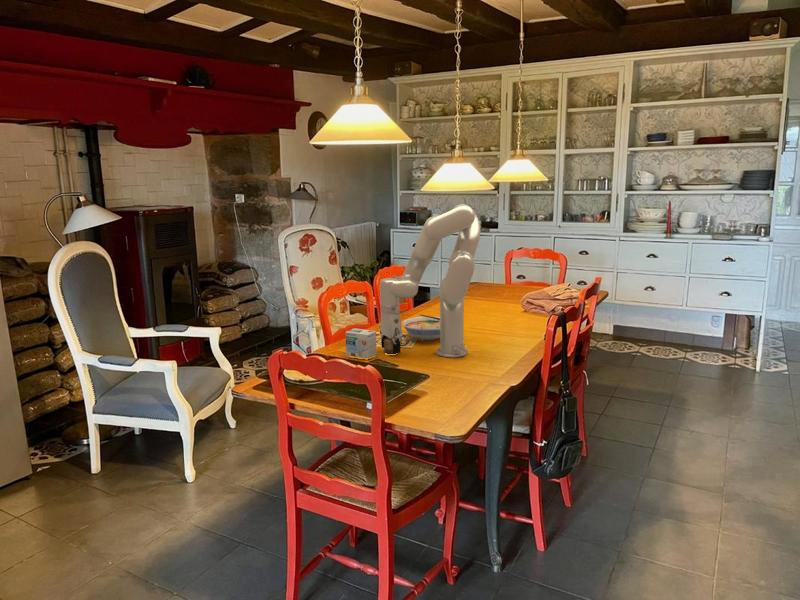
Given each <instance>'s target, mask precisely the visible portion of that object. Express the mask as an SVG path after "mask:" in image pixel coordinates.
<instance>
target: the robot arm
mask: <svg viewBox="0 0 800 600" xmlns="http://www.w3.org/2000/svg"><path fill="white" fill-rule="evenodd" d="M481 229H482V228H481V222H480V221H479V218H478V215H477V214H476V213H475V211H474V209H473V208H472V207H471V206H470V205H468V204H465V203H459V204H456V205H455V206H454V207H453V209H451V210H449V211H447V212H444V213H443V214H440V215H435V216H430V217H429V218H427V219H426V220H425V223H424V224H423V227H422V228H421V231H420V233H419V234H418V235H419V236H418V238H417V240H416V242H415V245H414V247H413V250H412V252H411V254H410V258H409V260H408V263H407V265H406V267H405V269H404V271H403V274H402V277H401V279H397V278H394V277H385V278H382V279H380V282H379V294H380V295H379V297H380V300H379V301H380V325H379V333H380V340H381V348H382V349H384V339H386V338H392V340H393V342H394V344H393V353H394V354H396V353H398V354H400V353H401V347H402V346H401V345H402V341H403V329H402V319H401V314H400V298H403V299H404V298H405V299H411V298H414V297H415V296H417V294H418V291H419V284H420V282H421V280H422V277H423V275H424V273H425V271H426V269H427V267H428V266H429V265H430V264H431V262H432V261H433V259H434V257H435V255H436V253H437V250H438V248H439V245H440V244H441V242H442V239H444V238H447V237H449V236H452V235H454V234H457V236H456V240H455V244H454V246H453V251H452V253H451V254H450V258H449V259H448V269H447V271H446V275H445V277H444V278H443V279H442V280H441V282H440V284H439V291H438V292H439V293H438V294H439V317H440V337H439V347H438V348H437V349H436V351H435V353H436V354H437V356H439V357H444V358H461V357H464V356H466V355H467V354H468V350H469V349H467V348H465V347H466V345H465V343H464V342H465V340H464V339H465V338H464V337H465V336H464V333H465V331H464V330H465V329H464V327H465V326H464V324H465V321H464V320H465V319H464V318H465V316H464V315H465V309H464V307H465V306H464V305H465V304H464V300H465V298H466V296H467V292H468V289H469V286H470V283H471V280H472V278H473V275H474V272H475V265H476V264H475V261H474V258H475V254H476V252H477V248H478V246H479V242H480V239H481ZM395 338H396V340H395Z"/></svg>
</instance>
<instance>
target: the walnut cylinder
mask: <svg viewBox="0 0 800 600" xmlns="http://www.w3.org/2000/svg"><path fill="white" fill-rule="evenodd" d="M396 339H397V338H395V340H396ZM393 344H394V342H393V340H392V338H386V339H384V348H383V354H384V353H387V354H394V353H393Z"/></svg>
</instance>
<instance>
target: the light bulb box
mask: <svg viewBox="0 0 800 600" xmlns="http://www.w3.org/2000/svg"><path fill="white" fill-rule="evenodd" d="M376 331H377V330H371V329H362V328H354V327H353V328H352V329H349V330H347V331H345V333H344V334H345V356H346V355H347V356H354V357H361V358H370V357H373V356H375V355H376V356H377V332H376Z"/></svg>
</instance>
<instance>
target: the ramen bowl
mask: <svg viewBox="0 0 800 600" xmlns="http://www.w3.org/2000/svg"><path fill="white" fill-rule="evenodd" d="M401 324H402V326H403V327H404V329H405V330H406V332H407V333H408V334H409V335H411V336H412V337H414V338H417V339H419V338H420V339H419V340H421V339H423V340H422V341H434V339H435V340H436V338H437V339H440V316H430V315H425V314H420V316H416V317H410V318H408V319H404V320H403V321H401Z"/></svg>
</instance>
